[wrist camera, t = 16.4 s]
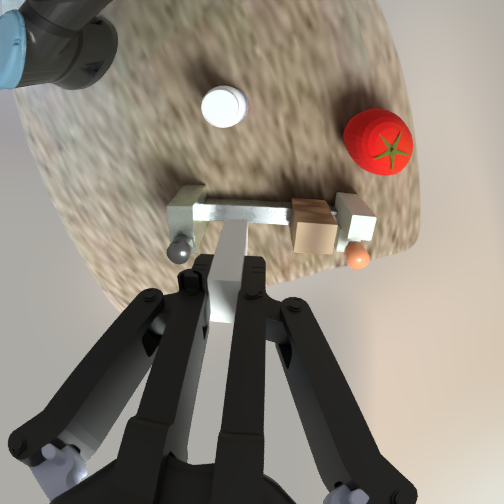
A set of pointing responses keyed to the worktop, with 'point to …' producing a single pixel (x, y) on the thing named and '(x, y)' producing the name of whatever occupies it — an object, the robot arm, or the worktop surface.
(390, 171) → the tomato
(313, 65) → the worktop surface
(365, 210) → the pale stepped block
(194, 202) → the rail
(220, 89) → the pill bottle
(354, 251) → the cylinder
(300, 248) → the block
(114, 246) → the worktop surface
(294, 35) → the worktop surface
